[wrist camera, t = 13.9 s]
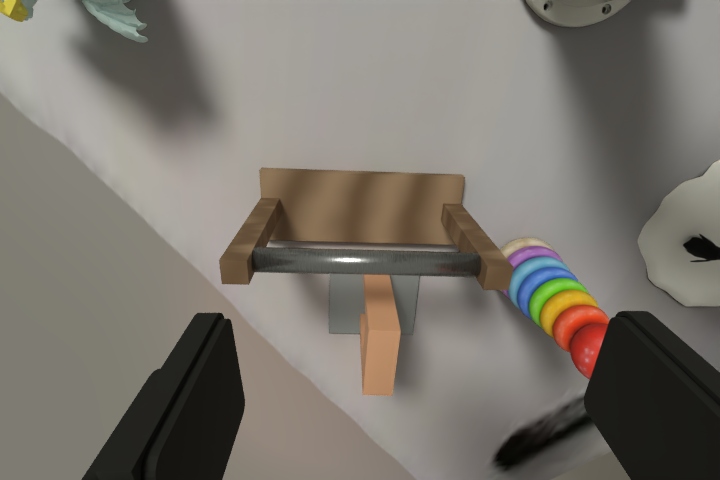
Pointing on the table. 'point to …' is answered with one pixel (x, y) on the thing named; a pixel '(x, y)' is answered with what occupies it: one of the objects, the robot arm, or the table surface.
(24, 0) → the character sculpture
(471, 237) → the rack
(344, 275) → the mat
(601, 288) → the table surface
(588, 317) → the stacking toy
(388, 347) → the tall peach block
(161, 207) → the table surface
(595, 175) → the table surface
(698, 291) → the figurine
